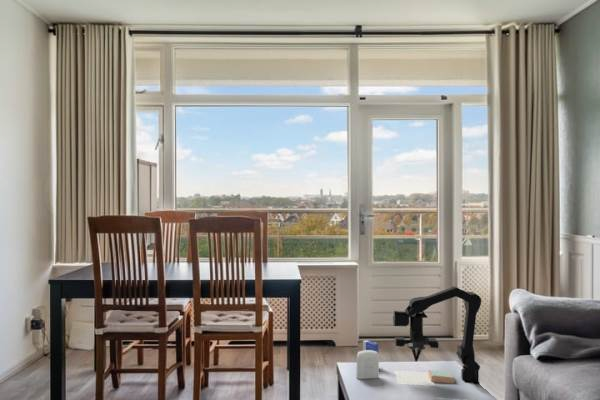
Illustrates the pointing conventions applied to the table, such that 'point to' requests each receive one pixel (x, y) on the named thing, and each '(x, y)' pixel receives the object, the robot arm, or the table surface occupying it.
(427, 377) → the mat
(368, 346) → the walkman
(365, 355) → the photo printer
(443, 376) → the tile
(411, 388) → the table surface
